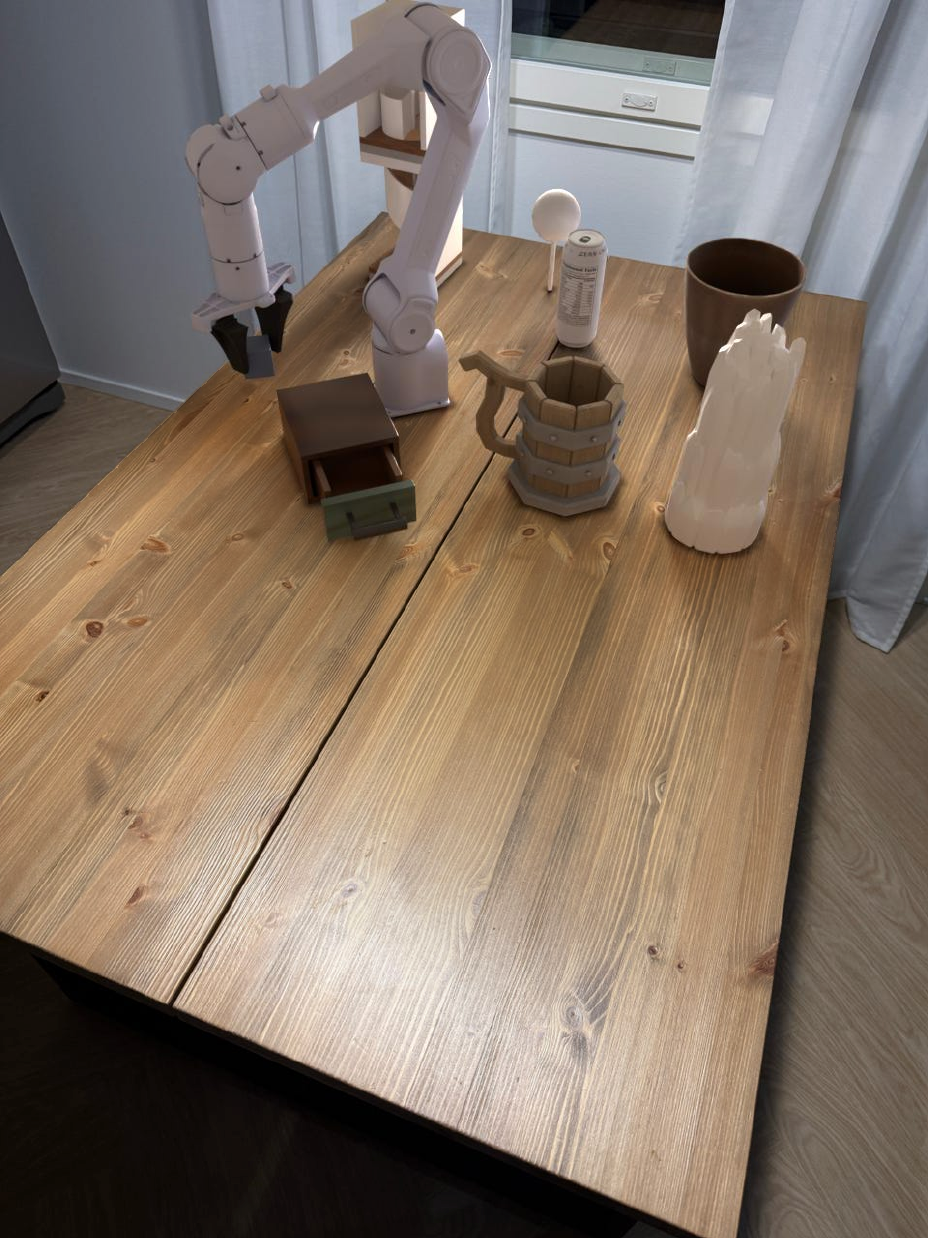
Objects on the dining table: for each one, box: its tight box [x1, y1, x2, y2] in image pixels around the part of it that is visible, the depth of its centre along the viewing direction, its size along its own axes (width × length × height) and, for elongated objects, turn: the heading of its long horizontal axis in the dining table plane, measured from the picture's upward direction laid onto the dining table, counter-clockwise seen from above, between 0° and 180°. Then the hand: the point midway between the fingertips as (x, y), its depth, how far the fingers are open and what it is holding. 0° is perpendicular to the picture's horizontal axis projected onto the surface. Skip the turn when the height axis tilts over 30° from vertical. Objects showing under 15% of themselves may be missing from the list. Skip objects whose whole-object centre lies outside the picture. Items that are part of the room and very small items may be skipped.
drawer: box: [308, 444, 417, 542], centre depth 102 cm, size 17×10×5 cm, turn 19°
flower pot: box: [683, 237, 808, 387], centre depth 118 cm, size 15×15×16 cm
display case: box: [350, 0, 465, 289], centre depth 129 cm, size 11×11×35 cm
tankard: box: [458, 349, 628, 517], centre depth 104 cm, size 20×13×15 cm, turn 65°
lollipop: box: [531, 188, 582, 291], centre depth 133 cm, size 7×7×15 cm
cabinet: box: [275, 372, 402, 505], centre depth 108 cm, size 14×12×7 cm
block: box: [243, 334, 276, 381], centre depth 106 cm, size 4×4×4 cm
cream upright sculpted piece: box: [664, 309, 807, 555], centre depth 95 cm, size 11×11×25 cm
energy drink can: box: [554, 228, 609, 349], centre depth 124 cm, size 6×6×15 cm
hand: (257, 360), depth 107 cm, fingers closed on block, 5 cm apart
